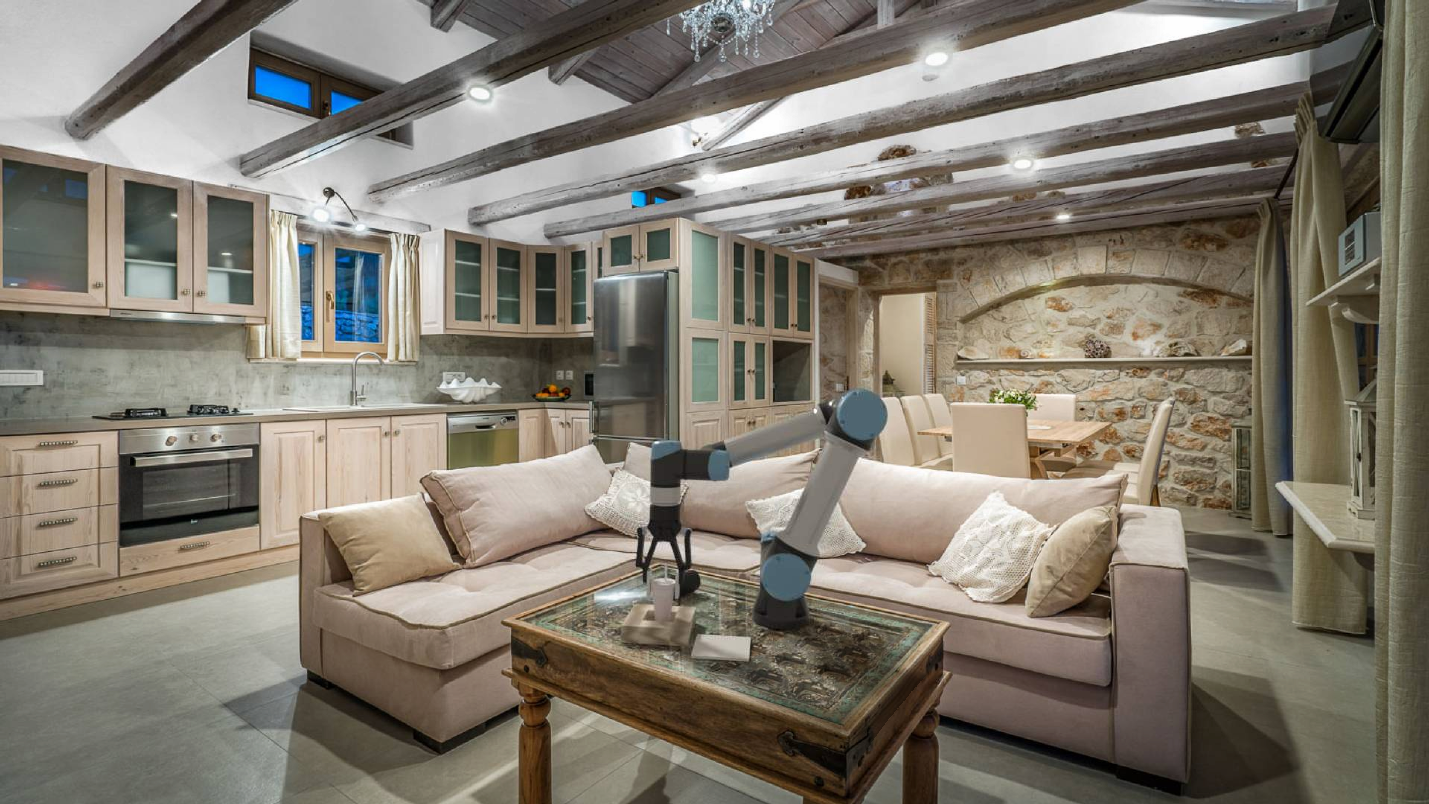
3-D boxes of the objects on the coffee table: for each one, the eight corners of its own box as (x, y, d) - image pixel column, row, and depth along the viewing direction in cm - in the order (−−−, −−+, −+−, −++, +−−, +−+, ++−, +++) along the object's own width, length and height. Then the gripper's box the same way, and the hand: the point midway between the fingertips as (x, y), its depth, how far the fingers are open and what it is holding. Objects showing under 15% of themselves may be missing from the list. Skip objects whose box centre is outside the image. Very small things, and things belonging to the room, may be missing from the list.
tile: (750, 639, 158) (750, 637, 158) (748, 661, 145) (749, 658, 145) (697, 636, 159) (697, 634, 159) (690, 658, 146) (690, 655, 146)
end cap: (677, 602, 185) (677, 578, 185) (659, 596, 190) (660, 573, 190) (700, 594, 193) (701, 571, 192) (683, 589, 197) (683, 567, 197)
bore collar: (695, 622, 169) (695, 607, 169) (687, 646, 153) (688, 629, 153) (634, 619, 170) (634, 603, 170) (620, 642, 154) (620, 625, 154)
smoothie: (678, 623, 159) (679, 566, 159) (652, 625, 157) (653, 568, 157) (672, 615, 165) (673, 560, 165) (647, 617, 163) (648, 561, 163)
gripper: (705, 502, 164) (703, 593, 164) (629, 499, 165) (627, 590, 166) (702, 507, 156) (700, 603, 157) (623, 504, 158) (621, 599, 158)
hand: (663, 596), depth 161 cm, fingers closed on smoothie, 6 cm apart
